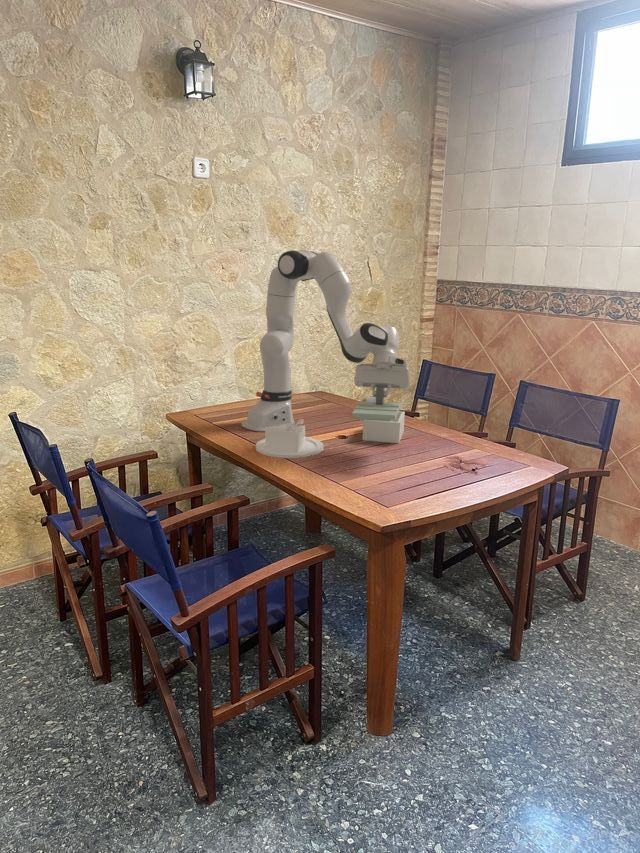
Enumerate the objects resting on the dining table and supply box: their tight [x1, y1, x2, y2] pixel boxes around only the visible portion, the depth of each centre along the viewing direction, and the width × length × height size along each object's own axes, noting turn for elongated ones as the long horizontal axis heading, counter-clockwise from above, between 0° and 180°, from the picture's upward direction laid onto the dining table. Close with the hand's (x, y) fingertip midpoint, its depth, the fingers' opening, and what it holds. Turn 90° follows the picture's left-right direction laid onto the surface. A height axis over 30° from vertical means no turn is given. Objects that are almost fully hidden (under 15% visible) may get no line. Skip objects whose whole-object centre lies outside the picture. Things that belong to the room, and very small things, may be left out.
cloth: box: [440, 454, 489, 474], centre depth 214 cm, size 20×22×2 cm
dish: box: [255, 418, 325, 459], centre depth 230 cm, size 25×25×11 cm
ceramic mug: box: [361, 396, 376, 402], centre depth 281 cm, size 11×8×8 cm
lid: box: [351, 386, 402, 422], centre depth 222 cm, size 19×15×9 cm
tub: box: [362, 410, 405, 444], centre depth 248 cm, size 18×14×8 cm
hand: (379, 396), depth 227 cm, fingers closed on lid, 2 cm apart
